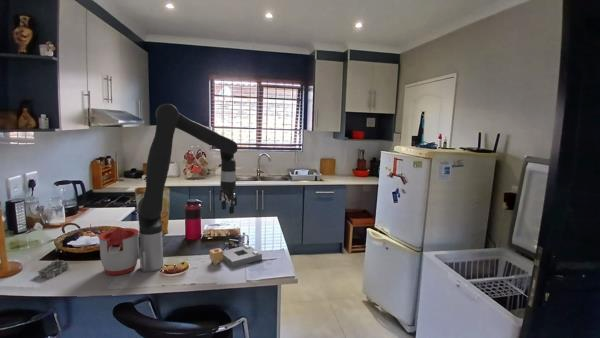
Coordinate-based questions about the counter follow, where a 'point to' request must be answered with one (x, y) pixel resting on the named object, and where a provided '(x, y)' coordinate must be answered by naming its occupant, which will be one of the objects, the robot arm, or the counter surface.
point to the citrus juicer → (119, 250)
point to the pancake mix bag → (165, 206)
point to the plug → (216, 255)
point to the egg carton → (53, 269)
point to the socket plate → (241, 256)
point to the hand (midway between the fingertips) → (227, 211)
